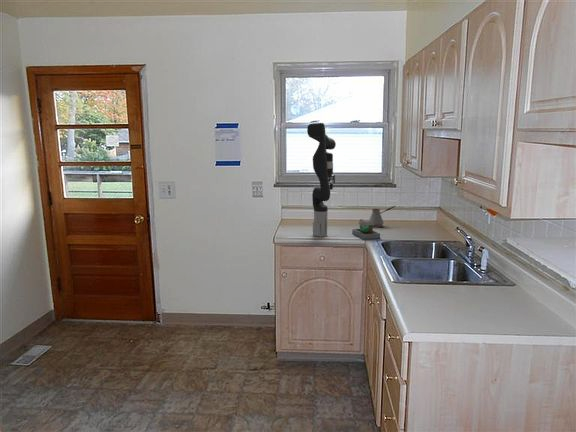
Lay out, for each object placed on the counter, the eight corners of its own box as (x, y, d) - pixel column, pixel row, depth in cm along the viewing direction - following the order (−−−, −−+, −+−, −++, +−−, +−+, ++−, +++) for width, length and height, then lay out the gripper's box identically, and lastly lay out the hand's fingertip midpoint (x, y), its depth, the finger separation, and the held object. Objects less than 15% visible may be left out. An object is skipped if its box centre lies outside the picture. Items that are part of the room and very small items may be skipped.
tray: (363, 239, 283) (363, 234, 283) (352, 233, 300) (352, 229, 300) (380, 238, 287) (380, 233, 286) (367, 232, 304) (368, 227, 303)
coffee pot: (370, 228, 318) (371, 208, 316) (365, 225, 330) (366, 205, 327) (398, 227, 322) (399, 207, 319) (392, 223, 333) (393, 204, 330)
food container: (354, 234, 297) (354, 219, 295) (361, 233, 300) (361, 218, 298) (366, 237, 287) (366, 223, 285) (373, 236, 290) (373, 222, 288)
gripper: (325, 168, 304) (325, 191, 307) (338, 167, 314) (337, 189, 317) (317, 168, 309) (317, 190, 312) (329, 166, 320) (329, 188, 323)
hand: (327, 190), depth 315 cm, fingers open, 8 cm apart
